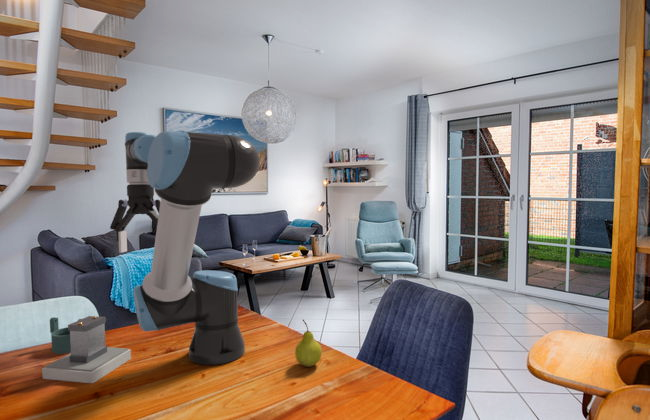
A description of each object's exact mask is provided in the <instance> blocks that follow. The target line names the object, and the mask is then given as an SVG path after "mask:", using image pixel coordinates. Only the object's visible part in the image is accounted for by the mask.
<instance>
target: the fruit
mask: <svg viewBox="0 0 650 420" xmlns="http://www.w3.org/2000/svg"><path fill="white" fill-rule="evenodd" d="M302 322H303V323H304V325H305V327H306V329H307V330H306V331H305V332H304V333H303V336H302V339H301V340H299V342H298V343H297V344H296V347H295V351H294V355H295V359H296V361H297V362H298V363H299V364H300V365H301V366H302V367H304V368H310V367H313V366H315V365H317V364H318V363H319V361H320V360H321V358H322V354H323V353H322V352H323V349H322V346H321V344H320V343H319V342H317V341H316V340H315V337H314V334H313V333H312V331H309V328H308V324H307V323H306V321H305V319H302Z"/></svg>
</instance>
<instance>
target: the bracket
mask: <svg viewBox="0 0 650 420" xmlns="http://www.w3.org/2000/svg"><path fill="white" fill-rule="evenodd" d="M81 319H82V318H78V320H77V321H79V320H81ZM49 332H50V333H51V334H50V336H51V338H50V339H51V353H52V354H54V353H56V355H65V354H64V353H66V354H70V353H71V344H70V331H68V326H67V327H63V328H60V327H59V317H51V318H50V319H49Z"/></svg>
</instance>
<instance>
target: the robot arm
mask: <svg viewBox="0 0 650 420" xmlns="http://www.w3.org/2000/svg"><path fill="white" fill-rule="evenodd" d="M124 147H125V165H126V168H125V169H126V183H127V186H126V196H127V198H128V199H119V200H118V205H117V208H116V212H115V214H114V216H113V220H112V222H111V223H110V227H109V229H110V230H114V231H115V232H116V241H117V242H118V253H119V254H122V253H126V252H128V240H127V239H128V238H127V237H128V236H127V235H128V234H127V230H126V228H127V226H128V225H129V223H130V222H131V221H132V220H133V218H134V216H136V215H146V216H148V217H149V218H150V220H152V222H153V223H154V225H155V226H156V233H155V240H154V247H153V254H152V261H151V269H150V271H149V272H148V273H147V274H146V275H145V276H144V278H143V280H142V284H138V285H137V286H134V287H133V288H132V289H133V290H132V291H133V293H132V294H133V303H134V308H135V312H136V317H137V322H138V325H139V328H140V329H141V330H142V331H143V332H153V331H157V332H158V331H161V330H165V329H168V328H169V329H170V328H174V327H179V326H182V325H183V326H185V325H187V324H191V323H193V324H194V332H193V335H192V338H191V340H190V345H189V347H188V348H189V349H188V359H189V360H190V361H191V362H193V363H195V364H197V365H198V364H199V365H202V366H203V365H204V366H210V365H211V366H214V365H222V364H223V365H224V364H228V363H230V362H234V361H236V360H238V359H239V358H241V357H242V356H244V355H245V352H246V348H245V347H246V344H245V340H244V337H243V335H242V331H241V329H240V327H239V317H238V316H239V310H238V309H239V308H238V307H239V305H238V304H239V303H238V302H239V301H238V300H239V299H238V291H239V289H238V281H237V277H236V275H235V274H233V273H231V272H228V271H224V270H223V271H221V270H210V269H207V270H206V269H205V270H197V271H194V273H193V274H192V278H191V277H190V275H189V271H190V267H191V262H192V256H193V253H194V252H193V251H194V247H195V246H194V245H195V243H196V241H195V240H196V236H197V231H198V226H199V221H200V217H201V216H200V215H201V213H202V211H201V210H202V206H203V205H205V204H206V203H208V202H209V201H210V200H211V196H212V192H213V190H214V189H232V188H238V187H241V186H243V185H246V184H247V183H249V182H250V181H252V180H253V179H254V178H255V177H256V175H257V173H258V171H259V169H260V162H261V161H260V154H259V152H258V150H257V148H256V147H255V145H254V144H252V142H250V141H248V140H247V139H245V138H243V137H240V136H237V135H230V134H218V133H205V132H193V131H185V130H177V131H176V130H174V131H173V130H165V131H162V132H159V133H158V134H157V135H154V134H151V133H148V132H142V131H132V132H127V133H126V134H125V139H124ZM155 194H156V196H157V197H158V198H160V199H154V195H155ZM127 207H129V208H128V209H127ZM154 207H155V208H156V210H155V208H154Z"/></svg>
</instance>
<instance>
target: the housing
mask: <svg viewBox="0 0 650 420" xmlns="http://www.w3.org/2000/svg"><path fill="white" fill-rule="evenodd" d="M80 319H81V320H79V319H78V320H79V321H78V320H77V321H74V322H71V323H69V324H68V325H67V327H68V331H70V344H71V356H69V358H70V362H77V363H89V362H90V361H92V360H94V359H96V358H97V357H99V356H101V355H103V354H104V353H106V352H107V347H108V346H107V345H106V330H105V329H106V328H105V326H106V325H105V324H106V323H107V318H106V316H98V315H88V316H86V317H84V318H80Z"/></svg>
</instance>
